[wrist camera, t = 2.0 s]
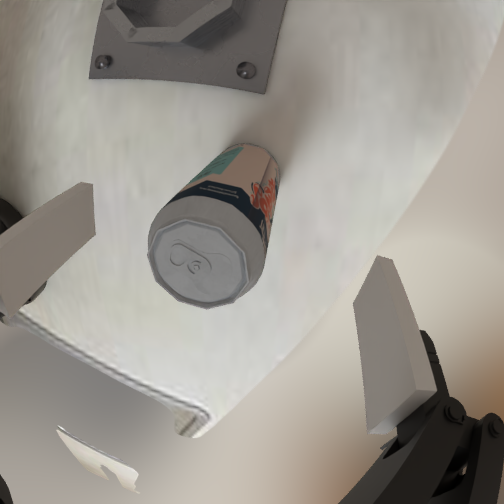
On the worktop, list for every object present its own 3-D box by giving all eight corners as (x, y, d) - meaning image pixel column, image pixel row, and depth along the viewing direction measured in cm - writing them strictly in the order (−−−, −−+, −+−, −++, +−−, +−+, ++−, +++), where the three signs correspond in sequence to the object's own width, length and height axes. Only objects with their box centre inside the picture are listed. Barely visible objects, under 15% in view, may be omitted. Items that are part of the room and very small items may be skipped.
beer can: (258, 216, 22) (224, 333, 12) (204, 184, 22) (125, 278, 11) (293, 164, 20) (288, 254, 10) (234, 129, 19) (162, 181, 9)
